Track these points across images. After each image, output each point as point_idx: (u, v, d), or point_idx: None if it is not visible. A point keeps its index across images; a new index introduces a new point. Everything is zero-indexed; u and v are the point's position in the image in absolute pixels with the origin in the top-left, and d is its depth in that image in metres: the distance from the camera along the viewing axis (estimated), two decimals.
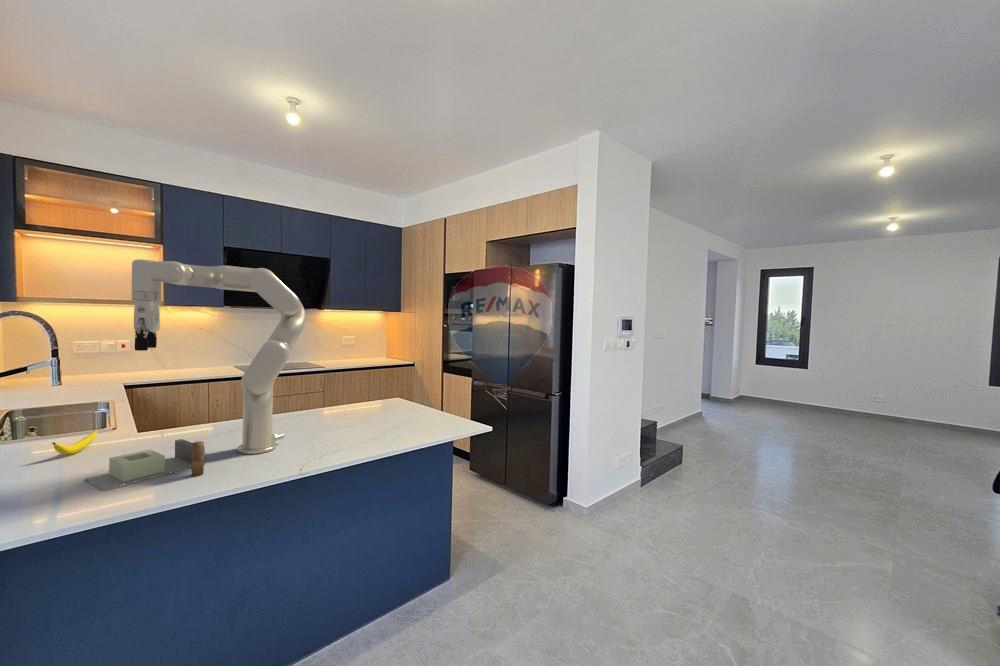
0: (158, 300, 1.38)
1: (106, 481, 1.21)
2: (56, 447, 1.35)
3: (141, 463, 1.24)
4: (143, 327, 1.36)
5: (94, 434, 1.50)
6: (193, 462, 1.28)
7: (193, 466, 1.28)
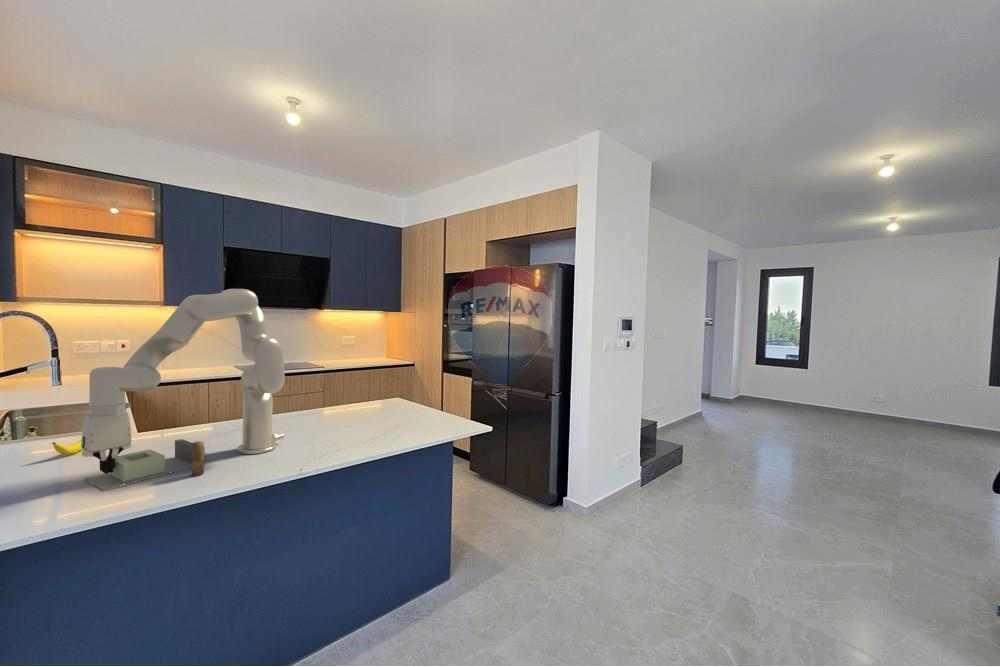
0: None
1: (106, 481, 1.21)
2: (56, 447, 1.35)
3: (141, 463, 1.24)
4: None
5: None
6: (193, 462, 1.28)
7: (193, 466, 1.28)
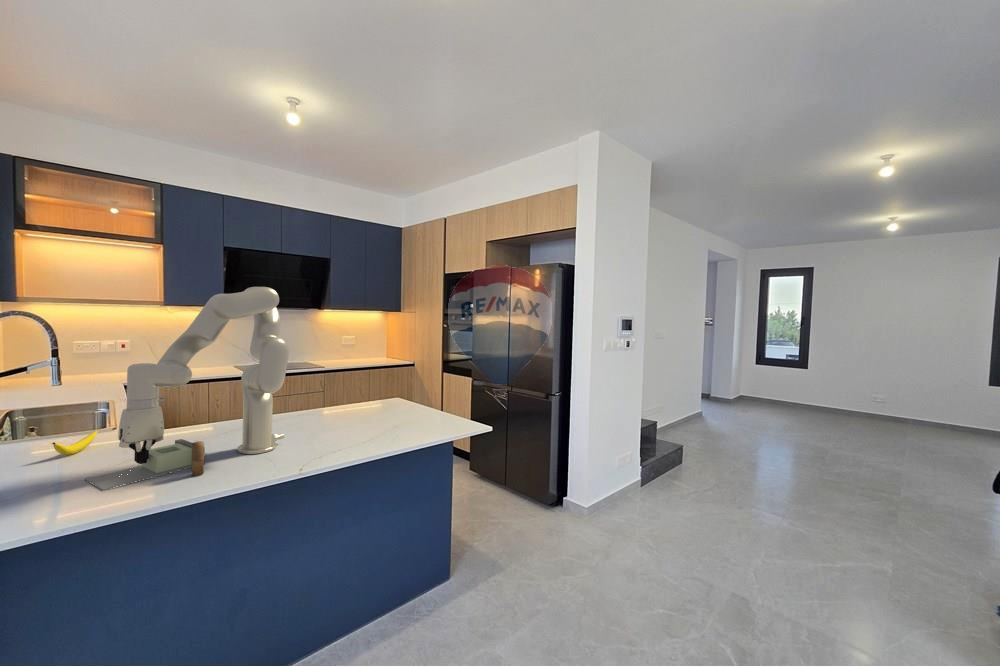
0: None
1: (106, 481, 1.21)
2: (56, 447, 1.35)
3: (172, 455, 1.31)
4: None
5: (94, 434, 1.50)
6: (193, 462, 1.28)
7: (193, 466, 1.28)
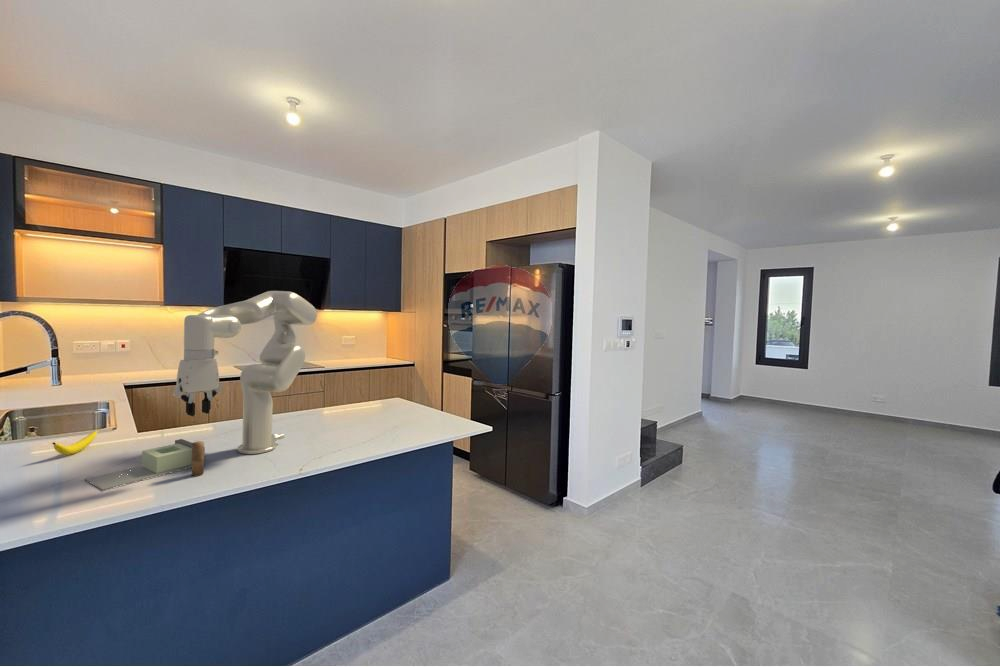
0: None
1: (106, 481, 1.21)
2: (56, 447, 1.35)
3: (172, 455, 1.31)
4: None
5: (94, 434, 1.50)
6: (193, 462, 1.28)
7: (193, 466, 1.28)
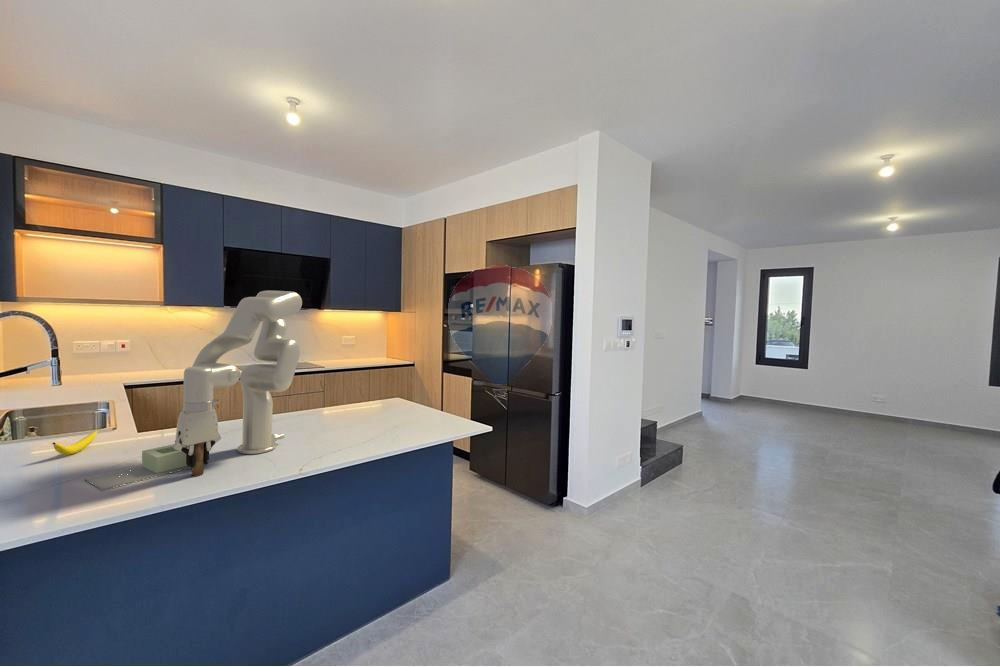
0: None
1: (106, 481, 1.21)
2: (56, 447, 1.35)
3: (172, 455, 1.31)
4: None
5: (94, 434, 1.50)
6: None
7: None
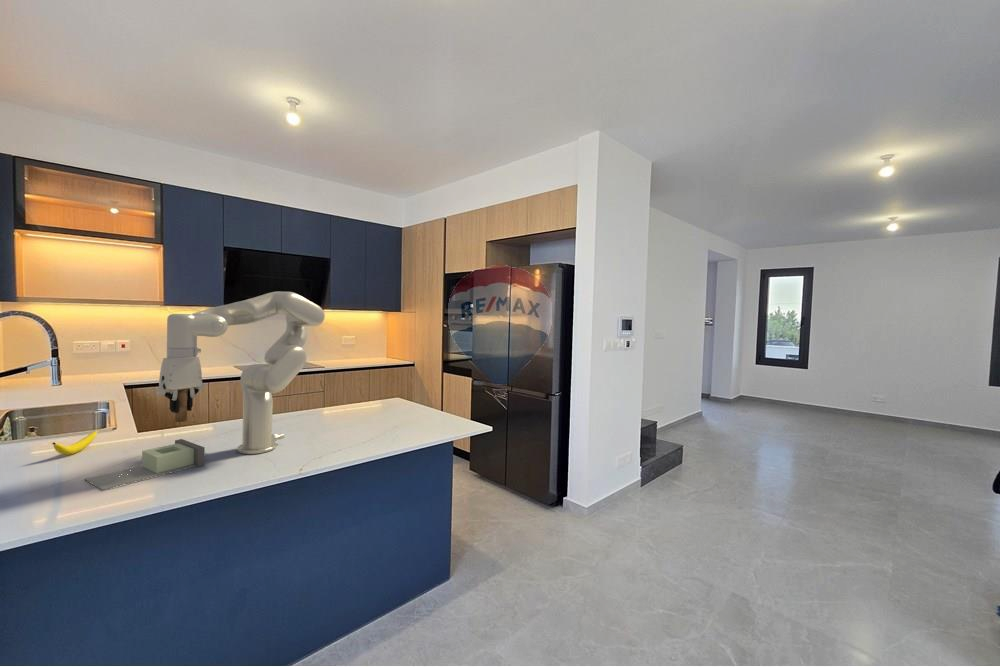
0: None
1: (106, 481, 1.21)
2: (56, 447, 1.35)
3: (172, 455, 1.31)
4: None
5: (94, 434, 1.50)
6: None
7: None
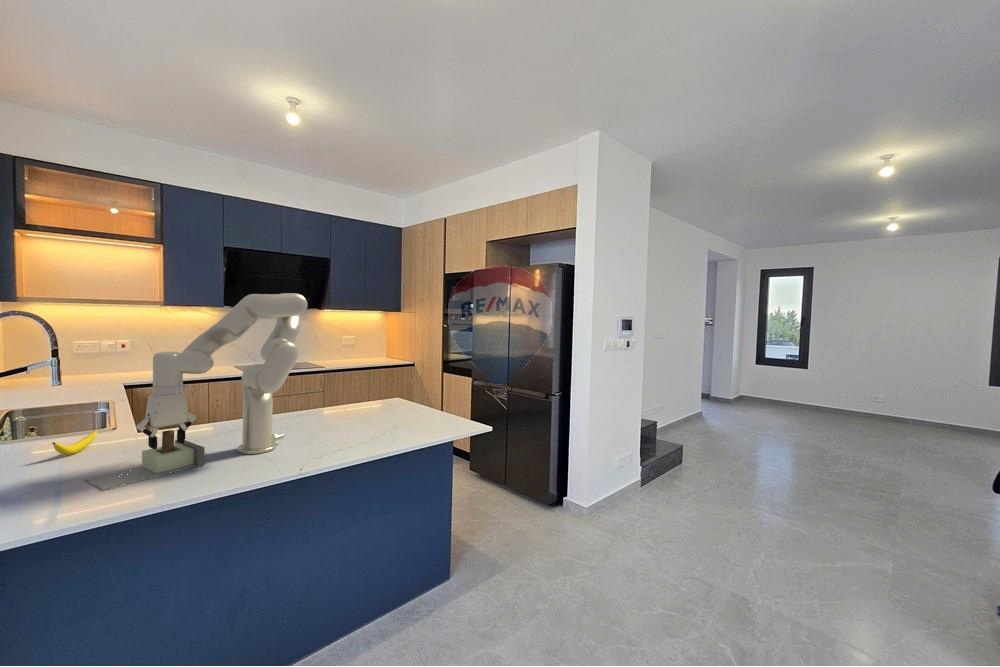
0: None
1: (106, 481, 1.21)
2: (56, 447, 1.35)
3: (172, 455, 1.31)
4: None
5: (94, 434, 1.50)
6: (163, 450, 1.33)
7: None
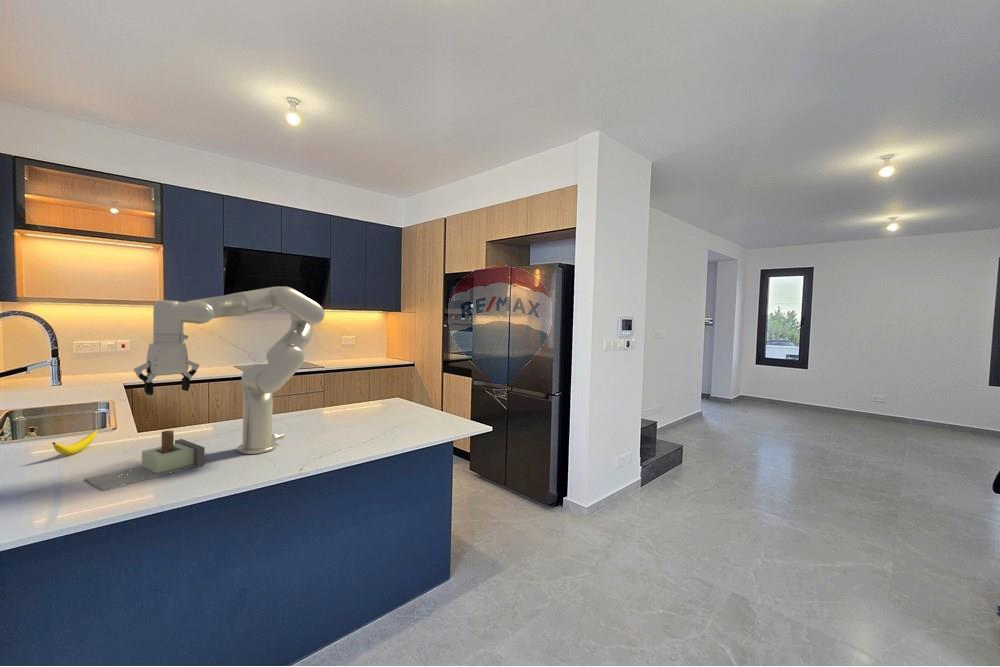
0: None
1: (106, 481, 1.21)
2: (56, 447, 1.35)
3: (172, 455, 1.31)
4: None
5: (94, 434, 1.50)
6: (162, 450, 1.33)
7: None
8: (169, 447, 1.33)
